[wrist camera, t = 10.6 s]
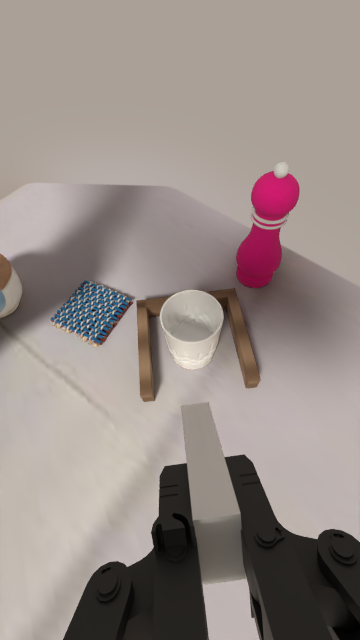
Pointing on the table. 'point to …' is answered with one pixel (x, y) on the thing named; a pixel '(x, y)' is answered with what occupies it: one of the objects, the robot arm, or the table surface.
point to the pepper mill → (266, 226)
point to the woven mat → (91, 312)
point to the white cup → (191, 327)
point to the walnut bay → (237, 326)
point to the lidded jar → (9, 286)
